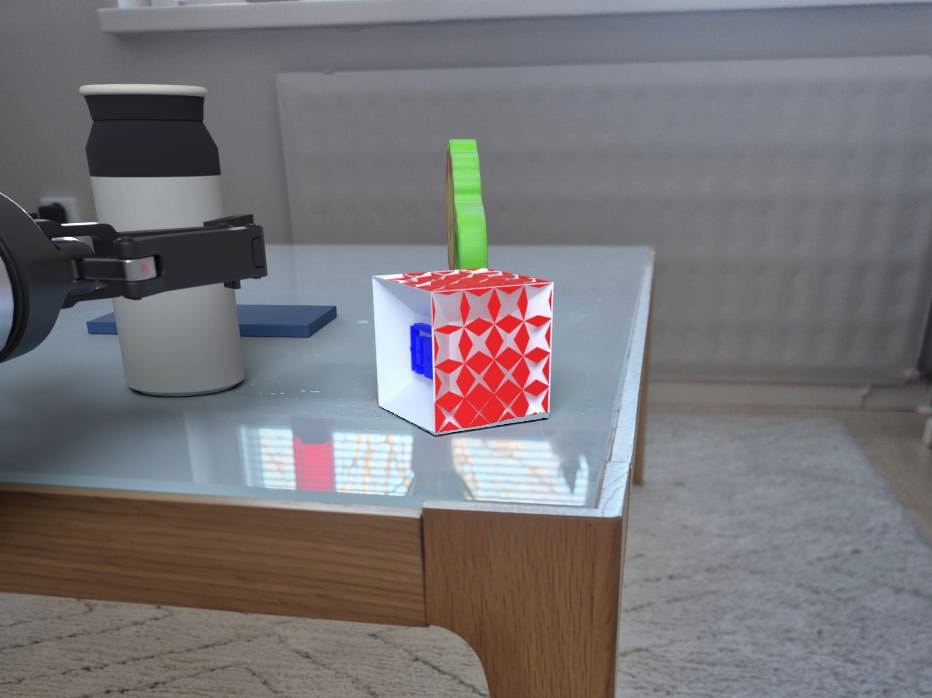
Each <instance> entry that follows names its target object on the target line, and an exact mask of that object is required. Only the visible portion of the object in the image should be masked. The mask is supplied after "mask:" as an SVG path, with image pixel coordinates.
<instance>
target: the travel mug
mask: <svg viewBox="0 0 932 698" xmlns="http://www.w3.org/2000/svg"><path fill="white" fill-rule="evenodd" d="M78 93H79V94H80V95H81V96H83V98H84V100H85V102H86V105H87V108H88V111H89V112H88V113H89V116H90V119H91V120H92V124H91V128H90V130H89V135H88V138H87V141H86V144H85V147H84V149H85V155H86V160H87V161H86V162H87V167H88V173H89V176H90V177H89V179H90V183H91V189H92V196H93V200H94V201H93V202H94V206H95V212H96V218H97V223H105V224H110V225H111V226H113V228H114V229H115V230H116V231H117V232H123V231H139V230H154V229H170V228H186V227H202V226H203V222H206V221H210V220H215V219H219V218H224V217H227V212H226V204H225V197H224V188H223V180H222V171H221V162H220V154H219V147H218V146H217V145H218V144H216V142H215V140H214V138H213V137H212V135H211V133H210V131H209V130H208V128H207V126H206V125H205V123H204V121H205V98H206V97H208V94H209V93H208V90H207V88H206V87H203V86H199V85H182V84H157V83H104V84H101V83H100V84H84V85H81V86H80V87H79V89H78ZM111 303H112V309H113V312H114V315H115V320H116V326H117V332H118V334H117V337H118V342H119V349H120V353H121V354H120V355H121V360H122V365H123V366H122V367H123V370H124V376H125V377H124V378H125V383H126V386H128V387H129V388H131V389H132V390H135V391H137V392H140V393H142V394H144V395H149V396H157V397H190V396H199V395H209V394H215V393H220V392H222V391H226V390H229V389H231V388H233V387H235V386H237V385H238V384H239V383H240V382H242V381H244V379H245V376H246V374H245V367H244V358H243V357H244V356H243V351H242V350H243V349H242V341H241V340H242V339H241V336H240V331H239V323H238V314H237V306H236V304H237V297H236V289H231V288H227V287H226V288H225V287H224V283H218V284H212V285H205V286H199V287H192V288H186V289H180V290H173V291H167V292H163V293H159V294H156V295H152V296H148V297H144V298H142V300H131V299H126V298H124V297H123V296H121V297H117V298H111Z"/></svg>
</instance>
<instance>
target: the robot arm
mask: <svg viewBox="0 0 932 698" xmlns="http://www.w3.org/2000/svg"><path fill="white" fill-rule="evenodd" d="M75 237H78V238H79V237H90V239H91V241H92V247H93V248H92V247H91V246H90V245H89V244H87V243H85V242H83V241H81V240H80V239H79V240H78V239H76V238H75ZM268 275H269V273H268V263H267V252H266V242H265V233H264V226H262V225H261V224H257V223H255V219H254V213H238V214H234V215H229V216H226V217H224V218H219V219H215V220H210V221H206V222H203V226H202V227H186V228H170V229H154V230H139V231H123V232H117V231H116V230H115V229H114V228H113V226H111V225H110V224H105V223H98V221H97V222H96V221H91V222H90V221H89V222H75V223H74V222H73V223H59V222H58V221H56V220H50V219H39V215H38V212H27V211H26V210H24V209H23V208H22V207H21V206H20V205H19V204H18V203H16V202H15V201H14V200H12V199H11V198H9V197H8V196H6V195H5V194H3V193H1V192H0V364H3V363H6V362H8V361H11V360H14V359H16V358H19V357H22V356H24V355H26V354H28V353H31V352H32V351H33V350H35V349H36V348H38V347H39V346H40V345H41V344H42V343H44V341H45V340H46V339H47V338H48V337H49V335H50V334H51V332H52V330H53V329H54V327H55V325H56V323H57V320H58V317H59V316H60V312H61V310H65V309H71V308H74V307H75V306H76V305H77V303H79V302H88V301H98V300H107V299H112V298H117V297H121V296H123V297H124V298H126V299H131V300H142V298H144V297H148V296H152V295H156V294H159V293H163V292H167V291H173V290H180V289H186V288H192V287H199V286H205V285H212V284H218V283H224V287H225V288H226V287H227V288H231V289H235V290H240V289H242V285H241V281H243V280H249V279H251V280H261V279H262V278H266V277H268Z"/></svg>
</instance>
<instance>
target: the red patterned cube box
mask: <svg viewBox="0 0 932 698" xmlns="http://www.w3.org/2000/svg"><path fill="white" fill-rule="evenodd" d="M371 285H372V286H371V287H372V303H373V324H374V325H373V326H374V340H375V361H376V380H377V399H378V407H379V406H381V407H383V408H384V409H386V410H389V411H390V412H393V413H394V414H397V415H398V416H400V417H402V418H405V419H406V420H409V421H410V422H413V423H415V424H417V425H419V426H422V427H424V428H426V429H428V430H430V431H433V432H434V433H437V432H438V433H439V432H443V431H450V430H457V429H460V428H470V427H476V426H482V425H486V424H490V423H491V424H492V423H495V422H497V421H498V422H501V421H504V420H507V419H513V418H516V417H515V416H517V417H524V416H525V415H529V414H532V415H535V414H539V412H541V413H542V412H545V413H547V412H549V413H550V410H551V408H550V407H551V380H552V379H551V378H552V377H551V375H552V374H551V373H552V345H553V320H554V319H553V318H554V316H553V314H554V289H555V288H554V285H555V281H551V280H546V279H542V278H536V277H533V276H528V275H521V274H518V273H517V274H516V273H512V272H507V271H502V270H498V269H494V268H493V269H492V268H489V267H488V268H477V269H463V270H450V271H449V270H441V271H440V270H439V271H422V272H421V271H420V272H407V273H395V274H381V275H380V274H379V275H372V276H371ZM384 409H383V410H384ZM386 410H385V411H386ZM390 412H389V413H390ZM394 414H393V415H394ZM532 415H531V416H532Z"/></svg>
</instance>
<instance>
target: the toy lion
mask: <svg viewBox="0 0 932 698" xmlns="http://www.w3.org/2000/svg"><path fill="white" fill-rule="evenodd" d="M479 155H480V154H479V152H478V144H477V140H476V139H474V138H466V139H465V138H453V139H452V138H451V139H449V140H448V144H447V146H446V159H445V193H444V195H445V229H446V245H447V246H446V247H447V263H448V271H450V270H463V269H477V268H488V269H489V252H488V251H489V250H488V233H487V221H486V220H487V219H486V212H485V208H484V203H483V198H482V197H483V195H482V193H483V192H482V180H481V178H482V177H481V167H480V166H481V165H480V156H479Z"/></svg>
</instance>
